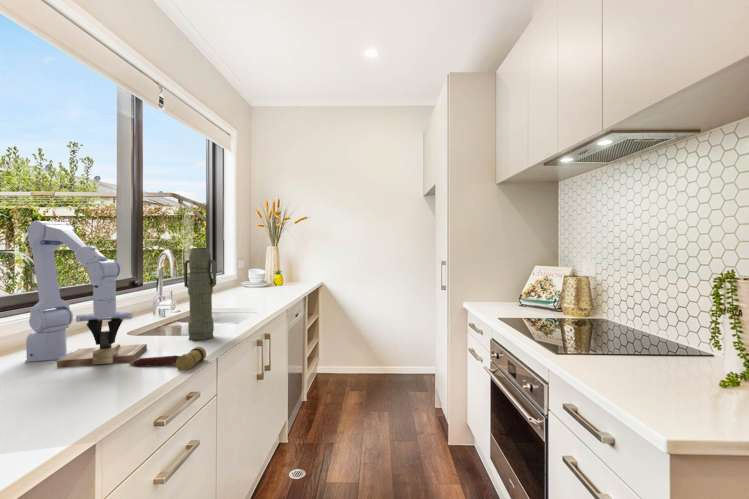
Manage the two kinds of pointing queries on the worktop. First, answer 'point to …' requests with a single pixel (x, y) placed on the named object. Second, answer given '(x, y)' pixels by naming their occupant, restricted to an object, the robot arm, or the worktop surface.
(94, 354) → the rubber stamp
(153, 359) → the gavel
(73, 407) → the worktop surface
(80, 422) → the worktop surface
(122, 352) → the board
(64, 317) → the robot arm
